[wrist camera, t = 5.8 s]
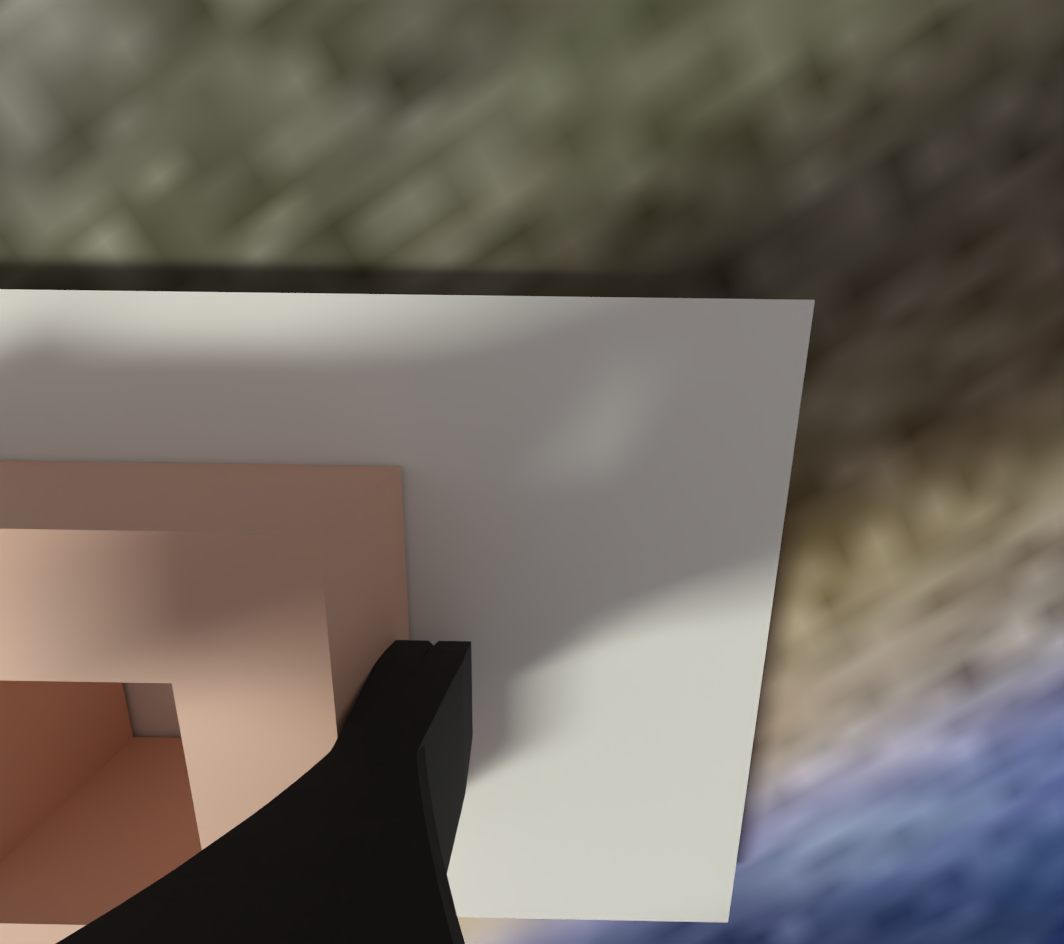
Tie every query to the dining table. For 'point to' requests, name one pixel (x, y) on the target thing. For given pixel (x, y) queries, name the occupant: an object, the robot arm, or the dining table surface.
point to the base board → (499, 533)
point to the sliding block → (174, 659)
